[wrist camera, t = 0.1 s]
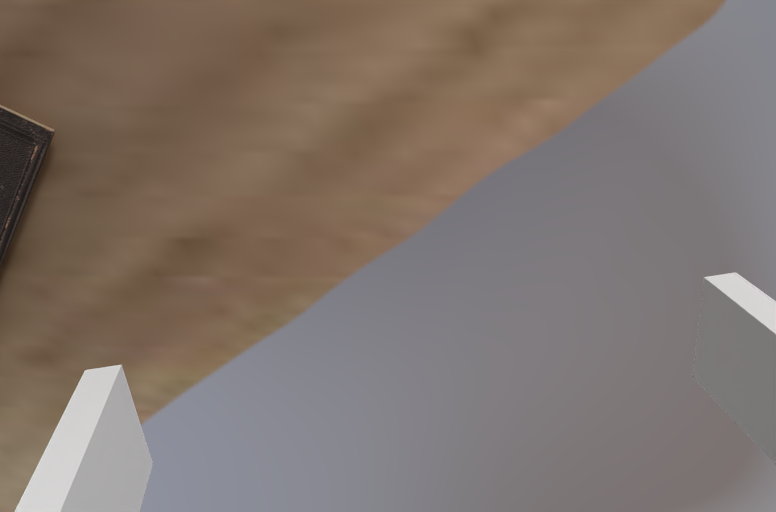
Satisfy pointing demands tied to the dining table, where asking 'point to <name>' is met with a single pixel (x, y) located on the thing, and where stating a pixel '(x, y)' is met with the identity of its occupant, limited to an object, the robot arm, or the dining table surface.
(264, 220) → the dining table surface
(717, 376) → the robot arm
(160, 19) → the dining table surface
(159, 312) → the dining table surface
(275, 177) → the dining table surface
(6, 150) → the hardcover book
